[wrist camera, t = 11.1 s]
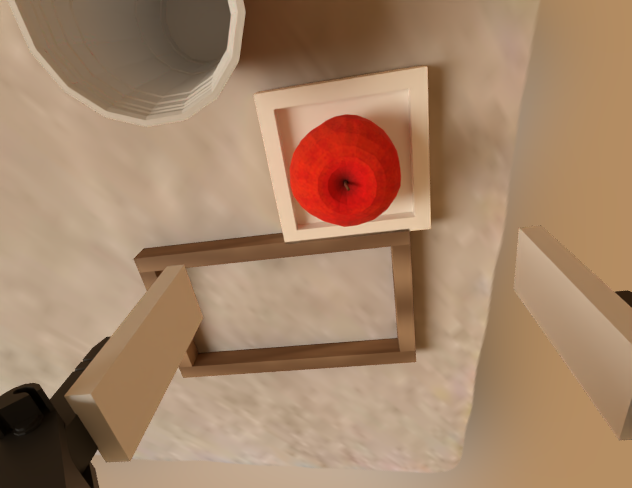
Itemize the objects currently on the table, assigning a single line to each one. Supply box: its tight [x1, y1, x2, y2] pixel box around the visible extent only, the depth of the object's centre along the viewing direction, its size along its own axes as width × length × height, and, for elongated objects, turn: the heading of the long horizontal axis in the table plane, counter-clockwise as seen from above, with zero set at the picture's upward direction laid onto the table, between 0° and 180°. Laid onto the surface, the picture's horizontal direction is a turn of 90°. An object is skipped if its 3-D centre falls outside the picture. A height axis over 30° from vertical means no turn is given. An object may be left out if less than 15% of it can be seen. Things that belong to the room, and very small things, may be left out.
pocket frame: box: [134, 229, 416, 378], centre depth 38 cm, size 15×25×2 cm, turn 99°
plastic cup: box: [7, 0, 246, 127], centre depth 23 cm, size 11×11×12 cm
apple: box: [290, 114, 401, 227], centre depth 28 cm, size 8×8×7 cm
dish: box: [253, 65, 431, 244], centre depth 31 cm, size 12×12×2 cm
